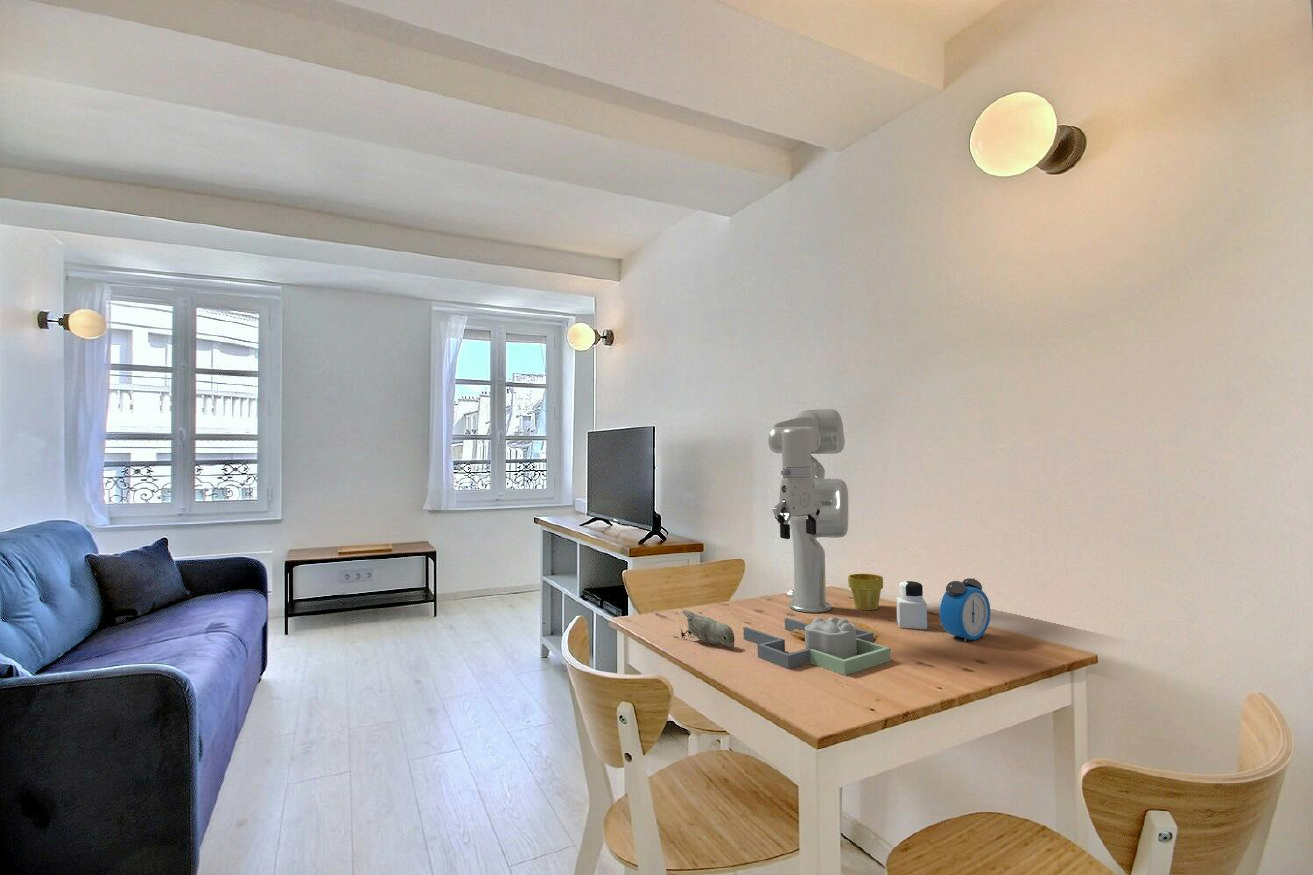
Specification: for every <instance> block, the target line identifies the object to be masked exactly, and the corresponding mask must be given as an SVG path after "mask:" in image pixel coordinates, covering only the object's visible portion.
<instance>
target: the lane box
mask: <svg viewBox="0 0 1313 875" xmlns="http://www.w3.org/2000/svg"><path fill="white" fill-rule="evenodd" d="M809 624H810V623H807V622H803V621H800V620H796V619H793V618H789V617H784V630H786V631H790V632H792V631H793V630H794V629H798V630H803V631H805V627H806V626H807V625H809ZM874 636H875V635H874V632H872V631H868V630H865V629H861V628H858V627H856V649H857V653H859V654H858V655H857V656H854V657H851V658H847V659H841V658H838V657H835V656H832V655H829V654H826V653H823V652H820V651H817V650H814V649H811V648H808V649H805V648H804V649H800V650H797V651H796V650H795V651H793V652H789V651H786V640H785V639H783V638H781V637H778V636H775V635H772V634H769V633H765V632H763V631H760V630H757V629H755V628H751V627H748V626H744V627H743V639H744V640H745V641H749V642H752V643H754V644H757V658H759V659H761V660H764V661H767V662H769V663H771V664H775V665H777V666H779V667H781V668H784V669H787V670H790V669H793V668H796V667H797V668H798V667H801V666H804V665H807V664H812V665H815V666H817V667H819V668H823V669H826V670H829V671H831V672H833V673H837V674H839V675H842V676H848V675H850V674H853V673H857V672H860V671H864V670H867V669H869V668H873V667H876V666H879V665H883V664H885V663H889V662H891V661H892V659H891V656H892V655H891V653H892V652H891V647H888V646H885V645H881V644H878V643H875V641H874V639H875V637H874Z"/></svg>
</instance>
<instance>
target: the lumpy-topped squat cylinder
mask: <svg viewBox="0 0 1313 875" xmlns="http://www.w3.org/2000/svg"><path fill="white" fill-rule="evenodd" d="M808 624H809V625H807V626H806V627H805V635H804V643H805V644H804V647H805V648H804V649H808V648H811V649H814V650H817V651H820V652H823V653H826V654H829V655H832V656H835V657H838V658H841V659H847V658H851V657H854V656H858V655H857V653H858V652H857V649H856V628H857V627H856V625H855V624H854V623H852V622H850V621H849V620H848V619H847V618H841V619H840V618H838V617H837V616H830V617H829V618H827V619H824V618H822V617H820V616H819V617H818V616H816V617H815V618H813V620H812V622H810V623H808Z"/></svg>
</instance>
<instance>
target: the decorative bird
mask: <svg viewBox="0 0 1313 875" xmlns="http://www.w3.org/2000/svg"><path fill="white" fill-rule="evenodd" d="M681 614H683V615H684V616H685V617H686V618H687V625H686V627H687V630H685V632H683V629H682V628H679V629H680V630H681V632H680V636H681V640H682V639H685V637H687V635H686V634H687V633H688V638H689V636H690V637H692V635H693V636H694V637H695V638H697V639H699V640H701V641H703V642H704V643H707V644H709V645H710V644H711V645H718V644H720V643H723V644H725V645H726V646H727V647H728V648H729V649H730V650H733V649H734V647H735V640H736V639H735V633H734V631H733V629H732V628H731V627H730V626H729V625H728V624H726V623H724V622H720V621H719V622H718V621H717V620H715V619H713V618H711V617H708V616H704V615H700V614H697V613H695V612H693V611H690V610H686V609H682V611H681Z"/></svg>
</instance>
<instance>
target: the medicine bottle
mask: <svg viewBox="0 0 1313 875" xmlns="http://www.w3.org/2000/svg"><path fill="white" fill-rule="evenodd" d="M898 590H899V596H896V599H895V600H896V622H897V624H898V627H899V628H900V629H912V630H927V629H928V611H927V610H928V609H927V608H928V607H927V603H926V601H925V599H924V595H923V592H924V591H923V584H922V583H920V582H918V581H913V580H903V581H901V582H899V584H898Z"/></svg>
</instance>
